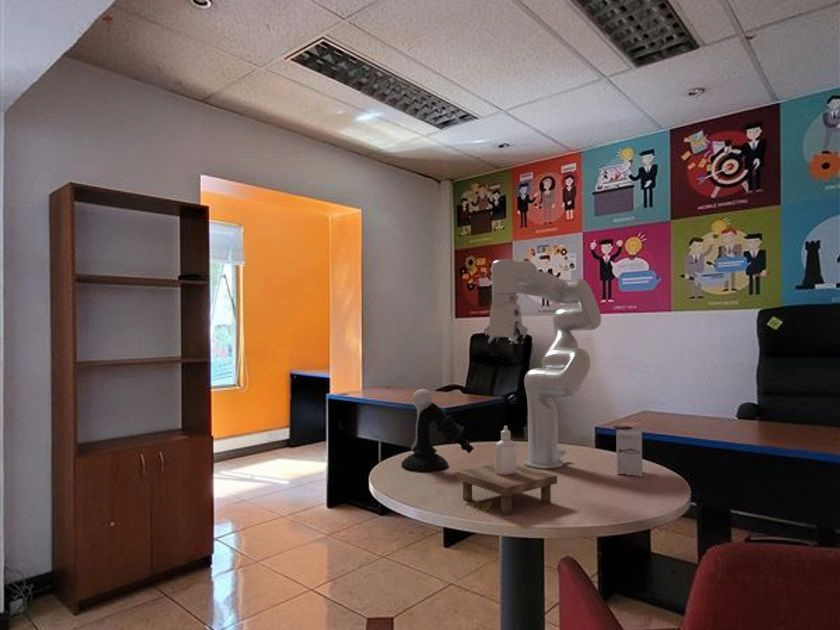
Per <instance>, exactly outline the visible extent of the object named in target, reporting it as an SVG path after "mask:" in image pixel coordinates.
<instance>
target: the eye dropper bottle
mask: <svg viewBox="0 0 840 630" xmlns="http://www.w3.org/2000/svg"><path fill="white" fill-rule="evenodd" d="M511 433H512V432H511V431H510V430H509V429H508V425H504V426H503V430H501V431H500V440H499V441H497V442H496V444H495V450H494V451H495V452H494V453H495V457H494V459H495V460H494V464H495V472H496V473H497V474H499V475H509V474H514V473H516V464H517V443H516V442H515V441H513V440H511V438H512V437H511V436H512V435H511Z"/></svg>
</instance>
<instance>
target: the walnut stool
mask: <svg viewBox="0 0 840 630" xmlns="http://www.w3.org/2000/svg"><path fill="white" fill-rule="evenodd" d="M456 480H458V481H461V482H462V500H464V501H468V502H469V501H472V500H473V486H475V487H479V488H480V489H484V490H486V491H488V492H489V491H490V492H493V493H494V494H498V495H500V515H501V516H505V517H509V516H512V496H513V495H516V494H521V493H524V492H525V493H526V492H529V491H533V490H536V489H540V503H541V504H542V505H547V504H548V505H551V503H552V500H551V499H552V494H551V493H552V490H551V489H552V487H551V486H553V485H556V484H558V475H557V474H553V473H549V472H545V471H542V470H538V469H534V468H533V467H529V466H528V467H527V466H523V465H519V464H517V463H516V473H514V474H509V475H499V474H497V473H496V472H495V463H493V464H492V463H491V464H487V465H481V466H478V467H472V468H467V469H462V470H457V471H456Z"/></svg>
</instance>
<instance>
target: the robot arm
mask: <svg viewBox="0 0 840 630" xmlns="http://www.w3.org/2000/svg"><path fill="white" fill-rule="evenodd" d="M491 263H492V264H491V303H492V304H491V305H490V312H489V325H488V326H487V327H485V328H484V330H483V332H484V334H485V338H486V340H487V343H488V344H489V357H499V343H498V341H499V339H500V338H510V339H512V341H513V343H512V357H513V358H521V357H522V356H523V353H522V352H523V351H522V348H523V347H522V344H523V343H524V340H525V339H526V338H527V334H528V328H527V327H526V326H524V325H523V319H522V312H521V306H520V304H518V300H519V295H518V294H523V295H526V296H527V295H528V296H534V297H538V298H541V299H544V300H547V301H549V302H551V303H554V304H557V305H570V304H574V305H575V304H577V305H580V306H565V307H561V308H559V309H557V310H556V311H555V312H554V313H553V315H552V316H553V317H552V323H553V331H554V339H553V341H552V343H551V344H550V346H549V348H548V349H547V351H546V352H545V354H544V355H543V357H542V359H541V367H534V368H532V369H530V370H528V371H527V372H526V374H525V376H524V384H523V385H524V389H525V390H524V391H525V394H526V399H527V400H526V401H527V402H526V403H527V438H528V439H527V441H528V443H527V446H528V451H527V452H528V455H527V457H526V458H523V464H524V465H525V466H526V467H527V466H528V467H529V468H533V469H534V468H536V469H548V470H549V469H552V470H553V469H558V468H559V469H560V468H561V467H563V465H564V461H563V460H562V459H561V457H564V456H566V455H567V450H566V449H561V450H560V449H559V444H558V443H559V437H558V435H559V433H558V422H559V421H558V407H557V406H556V403H555V401H554V400H553V399H561V400H562V399H563V400H564V399H565V400H568V399H572V398H573V397H575V395H577V393H578V391H579V390H580V388H581V387H582V384H583V382H584V381H585V379H586V377H587V375H588V374H589V371H590V367H591V358H590V355H589V353H588V352H587V351H586V350H585V349H583V348H582V347H579V344H578V341H577V338H576V337H575V336H574V335H573V333H572V331H594V330H596V329H597V328H599V327H600V325H601V323H602V315H601V311H600V308H599V306H598V303H597V300H596V297H595V295H594V293H593V290H592V289H591V287H590V285H589V283H588V282H587V280H585V279H584V278H574V279H562V278H560V277H557V276H555V275H553V274H551V273H550V272H547V271H538V268H537V266H536V265H535V263H533V262H532V261H529V260H518V261H516V260H513V259H496V260H494V261H492V262H491Z"/></svg>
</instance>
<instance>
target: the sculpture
mask: <svg viewBox="0 0 840 630" xmlns="http://www.w3.org/2000/svg"><path fill="white" fill-rule="evenodd" d="M412 396H413V397H412V400H413V402H414V404H415V405H414V406H415V407H416V415H417V417H416V422H415V423H416V424H415V439H414V441H413V443H412V445H411V446H410V449H411V450H412V452H413V453H411V454H410V455H408V456H407V457H405V458H404V460H403V461H402V462H401V468H402V469H403V468H404V470H405V469H406V471H408V470H410V471H409V472H413V471H417V472H416V473H431V472H432V471H436V472H439V471H440V470H441V471H444V470H446V469H448V468H449V467H448V466H449V462H448V461H447V460H446V459H445V458H444V457H443V456H441V455H439V454H437V452H438V451H437V449H436V448H435V447H434V446H433V443H432V436H431V425H432V423H433V422H434V423H435V424H436V426H437V427H436V431H438V432H439V433H441V434H442V435H444V437H445V439H446V442H447V444H448V445H450V444H453V443H454V442H456V443H458V445H460V447H461V450H462V451H466V452H467V453H468V454H470V453H471V452H472V451H473V450H474V448H475V447H474V446H473V445H471V442H470V441H469V440H466V439H465V438H464V437H463V436H462V434H463V431H464V429H465V427H464V426H463V425H462V426H461V425H459V424H458V423H456V421H455V420H454V418H453V415H452V414H450V415H449V414H448V415H447V414H446V413H445V412H444V410H443V409H441V408H440V407H439V406H438V405H437V404H436V403H435V402H433V401H432V400H433V399H432V398H433V397H432V393H431V392H430V391H429V390H427V389H425V388H421V389H417V390H416V391H415V392H414V393H413V395H412ZM441 471H440V472H441ZM432 473H433V472H432Z"/></svg>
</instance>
